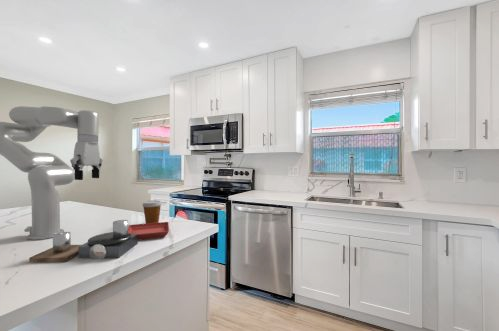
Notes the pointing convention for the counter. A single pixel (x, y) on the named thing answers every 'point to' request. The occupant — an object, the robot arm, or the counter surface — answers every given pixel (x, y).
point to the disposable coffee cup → (152, 211)
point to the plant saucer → (149, 230)
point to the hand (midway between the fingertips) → (87, 178)
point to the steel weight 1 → (61, 242)
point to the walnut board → (55, 255)
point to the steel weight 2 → (120, 229)
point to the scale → (107, 246)
